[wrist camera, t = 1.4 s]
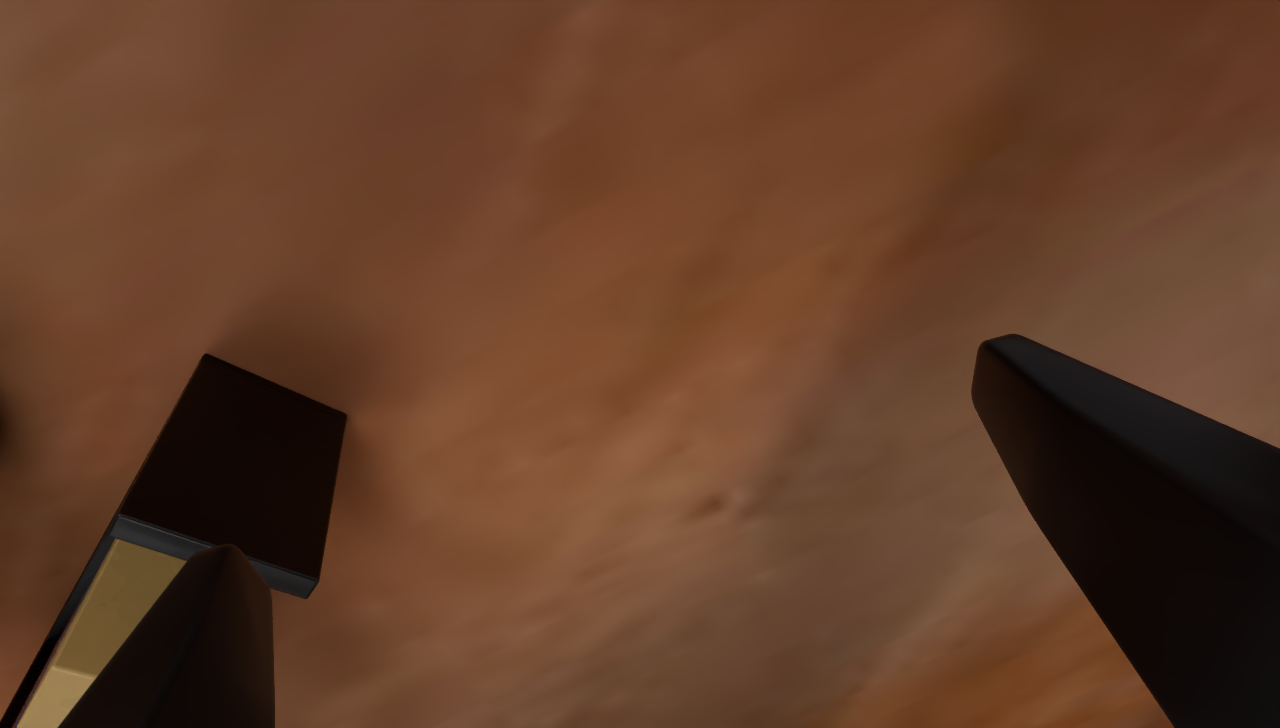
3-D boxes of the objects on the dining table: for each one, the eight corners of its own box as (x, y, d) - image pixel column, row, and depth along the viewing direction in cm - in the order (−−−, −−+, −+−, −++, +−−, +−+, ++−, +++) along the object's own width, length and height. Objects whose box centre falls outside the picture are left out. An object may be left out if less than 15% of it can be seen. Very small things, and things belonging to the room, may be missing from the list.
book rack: (183, 676, 26) (108, 900, 20) (44, 640, 24) (-84, 873, 18) (348, 413, 23) (320, 581, 17) (205, 351, 21) (116, 513, 15)
